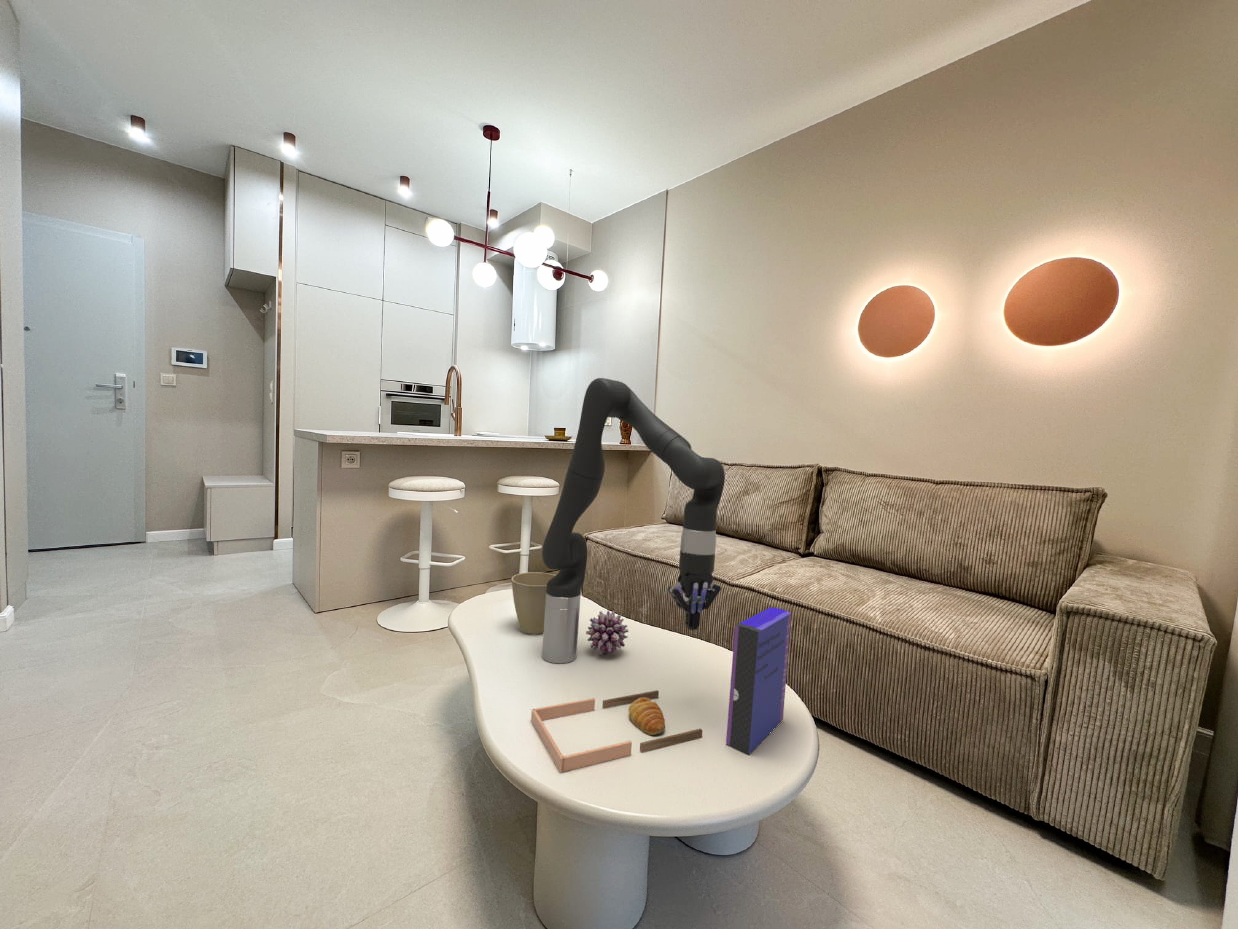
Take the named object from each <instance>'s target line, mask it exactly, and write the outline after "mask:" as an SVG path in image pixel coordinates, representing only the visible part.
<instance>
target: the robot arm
mask: <svg viewBox="0 0 1238 929" xmlns="http://www.w3.org/2000/svg"><path fill="white" fill-rule="evenodd" d="M608 418H611V419H613V418H616V419H618V420H621V421H622V422H624V423H626V424H627V425H629V426H631V427H632V428H633V429H634V430H635V432H636V433H637V434H638V436H639V438H641V440H642V442H643V444H644V445H645V446H646V448H647V449H648V450H649V451H650V452H651V453H652V454H654V455H655V456H656V457H657V458H659V459H660V460H661V461H662V462H663V463H665V464H666V465H668V468H669V469H670V470H671V472H672V473H673V474H674V475H675V476H676V477H677V479H678V480H679V481H680V482H681V483H682V484H683V485H684V486H686V487H688V488H689V489H692V490H693V494H692V498H691V499H690V500H689V501H688V502H686V504H685V506H684V511H683V523H682V524H683V525H682V532H681V536H680V547H679V548H680V550H679V560H678V570H679V575H678V577H677V580H676V581H677V582H676V583H675V584H674V585H673V586H672V585H669V586H668V588H667V591H668V593H669V595H671V597H672V599H673V601H674V603H676V606H677V607H678V608H679V609H680V610H681V609H682V610H683V611H684V612H685V620H684V624H685V626H686V628H687V629H688V630H690V631H696V630H699V626H700V625H701V624H700V622H701V613H702V612H703V611H705V610H708V609H709V608H710V607H711V606H712V604H713V601H714V600H715V599H716V597H717V596H718V595H719V593H720V592H721V590H722V586H721V585H718V584H716V583H715V581H714V578H713V573H714V572H715V561H716V560H715V559H716V548H717V547H716V546H717V536H716V535H717V534H716V533H717V532H716V530H717V521H718V520H717V517H718V515H717V514H718V513H717V512H718V508H719V505H720V503H721V498H722V495H723V491H724V488H725V481H726V473H725V468H724V466H723V464H722V463H721V461H719V460H718V459H716V458H714V457H704V456H703V457H702V456H701V455H699V454H698V453H696V452H695V451H694V450H693V449H692V446H691V443H690V442H689V441H688V439H686V438H685V437H684V436H682V435H681V434H680V433H679V432H677V431H676V430H675V429H673V428H672V427H671V426H669V425H668V424H666V422H664V421H663V420H662V419H661V418H659V417H658V416H657V415H656V414H655V413H654V412H653V411H652V410H650V408H649V407H647V406H646V404H644V402H643V401H642V400H641V399H640V398H639V396H637V394H635V392H634V391H633V390H632V389H631V388H630V387H629V386H628V385H627V384H626V383H625V382H623V381H619V380H616V379H615V380H613V379H609V378H605V377H598V378H595V379H593V380H592V381H591V382H590V383H589V384H588V386H587V388H586V391H585V394H584V398H583V402H582V407H581V412H580V419H579V423H578V424H579V425H578V431H577V435H576V439H575V443H574V445H573V446H574V447H573V450H572V453H571V454H572V455H571V458H570V460H569V464H568V467H567V471H566V475H565V478H564V482H563V486H562V490H561V493H560V497H559V500H558V503H557V506H556V510H555V511H554V515H553V518H552V520H551V523H550V526H549V528H548V530H547V533H546V535H545V538H544V541H543V546H542V551H541V552H542V553H541V554H542V555H541V556H542V562H543V563H544V565H545V567H547V568H548V569H549V570H555V571H556V570H559V571H558V572H557V573H556V574H555V575H556V576H555V577H553V578H552V579H550V580H549V581H548V583H547V587H546V602H545V618H544V633H542V634H543V635H542V648H541V650H542V651H541V657H542V660H544V661H547V662H549V663H553V664H568V663H571V662H573V661H575V660H576V659H577V651H578V639H579V638H578V637H579V624H580V623H579V622H580V612H581V609H580V608H581V596H582V592H581V591H582V587H583V585H584V582H585V578H586V572H587V571H586V570H587V561H588V545H587V541H586V539H585V537H584V535H583V534H581V533H579V532H573V530H574V528H575V525H576V524H577V522H578V521H579V519H580V518H581V517H582V515H583V514H584V513H586V510H587V509H588V508H589V507H590V506H591V505H592V503H593V502H594V500H596V498H597V496H598V494H599V492H600V489H601V485H602V482H603V479H604V476H605V470H606V469H605V468H606V464H605V457H604V451H603V446H602V444H603V443H602V438H603V433H604V430H605V426H606V423H607V420H608ZM682 594H683V595H682Z"/></svg>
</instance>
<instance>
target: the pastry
mask: <svg viewBox="0 0 1238 929" xmlns="http://www.w3.org/2000/svg"><path fill="white" fill-rule="evenodd" d="M628 716H629V720H631V723H632V724H634V726H636V727H637V729H639V730H640V731H641V732H643V733H644V734H648V735H649V736H654V735H660V734H663V732H664V731H665V729H666V723H665V721H666V719H665V718H664V713H663V711H662V709H661V707H660V706H659V705H658V703H657V702H656V701H652V699H649V698H646V697H641V698H639V699H637V700H635V701H634V702H633V703H630V704H629V707H628Z"/></svg>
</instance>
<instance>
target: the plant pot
mask: <svg viewBox="0 0 1238 929" xmlns="http://www.w3.org/2000/svg"><path fill="white" fill-rule="evenodd" d="M556 575H557V574H553V573H548V572H540V571H539V572H537V571H536V572H535V571H532V572H529V571H528V572H522V573H518V574H515V575H513V576H511V588H512V589H511V590H512V597H513V604H514V608H515V613H516V617H517V621H518V624H519V627H520V630H521V632H522V633H523V632H524V634H527V635H531V634H536V635H541V634H543V633H544V618H545V602H546V587H547V583H548V581H549V580H550V579H552V578H553V577H555V576H556Z"/></svg>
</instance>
